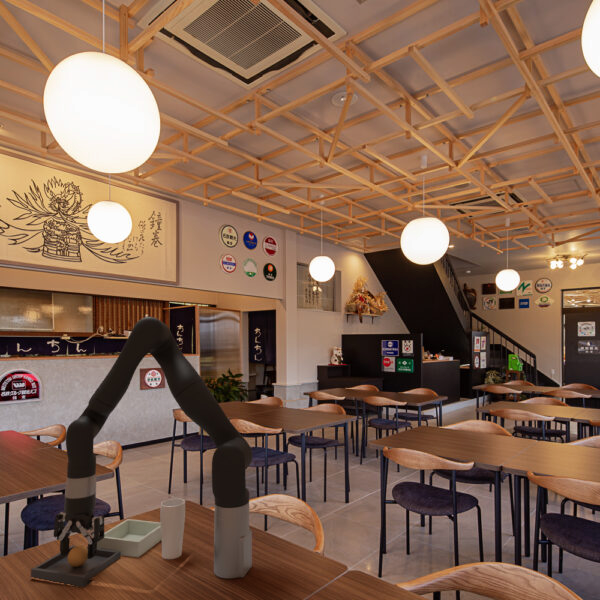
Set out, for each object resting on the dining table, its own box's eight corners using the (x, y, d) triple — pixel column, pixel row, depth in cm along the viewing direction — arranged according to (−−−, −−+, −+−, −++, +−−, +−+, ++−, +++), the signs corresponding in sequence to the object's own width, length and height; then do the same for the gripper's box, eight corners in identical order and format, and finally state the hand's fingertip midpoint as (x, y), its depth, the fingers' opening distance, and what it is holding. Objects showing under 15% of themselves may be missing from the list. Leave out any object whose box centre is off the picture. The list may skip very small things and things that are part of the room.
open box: (165, 540, 134) (165, 523, 134) (138, 561, 121) (138, 542, 121) (127, 535, 137) (127, 518, 138) (96, 555, 124) (97, 536, 125)
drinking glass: (158, 565, 118) (160, 507, 120) (159, 554, 124) (161, 499, 126) (184, 562, 120) (185, 505, 121) (184, 551, 126) (185, 497, 128)
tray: (120, 561, 121) (120, 551, 121) (82, 588, 107) (83, 577, 108) (72, 554, 125) (72, 545, 125) (30, 579, 111) (31, 569, 112)
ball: (92, 562, 118) (93, 543, 118) (78, 571, 113) (79, 551, 114) (77, 560, 119) (77, 541, 120) (62, 569, 114) (63, 549, 115)
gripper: (112, 490, 120) (110, 552, 118) (69, 486, 124) (66, 546, 122) (92, 499, 113) (90, 565, 111) (48, 494, 116) (44, 559, 115)
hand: (77, 555), depth 116 cm, fingers open, 8 cm apart
